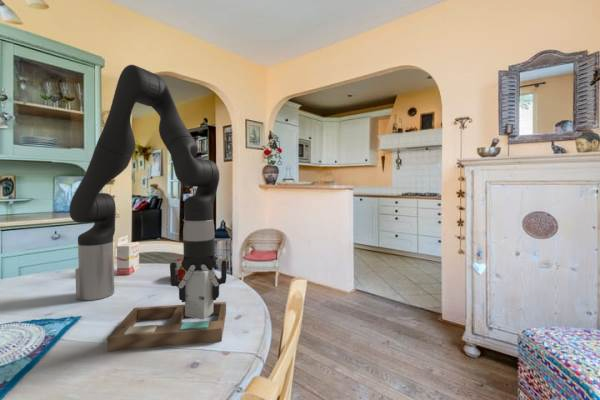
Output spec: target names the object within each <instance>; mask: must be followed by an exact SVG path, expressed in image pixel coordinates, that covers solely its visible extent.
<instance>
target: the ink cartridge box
mask: <svg viewBox="0 0 600 400" xmlns="http://www.w3.org/2000/svg"><path fill="white" fill-rule="evenodd" d="M138 270H140V242H139V241H135V242H134V241H132V242H130V241H129V235H124V236H122V237H118V238H117V241H116V275H117V276H130V275H131V273H132V274H133V273H135V272H137V271H138Z"/></svg>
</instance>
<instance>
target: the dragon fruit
mask: <svg viewBox="0 0 600 400" xmlns="http://www.w3.org/2000/svg"><path fill="white" fill-rule="evenodd" d="M176 261H183V258H178V259H177V260H176ZM185 271H186V270H185V269H184V268H183V267H182V266H180V268H179V270H178V280H181V281H182V279H183V277H184V276H185Z"/></svg>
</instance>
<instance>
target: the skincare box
mask: <svg viewBox="0 0 600 400" xmlns="http://www.w3.org/2000/svg"><path fill="white" fill-rule="evenodd" d="M210 271H211V273H212V274H213V273H214V272H215V267H214V268H213V269H212V270H210ZM186 273H187V272H186V271H185V274H186ZM213 285H214V284H213V283H212V282H211V280H209V271H203V270H195V271H193V272H192V274H191V276H190V277H189V279H188V280H187V282H186V283H185V302H184V305H185V316H187V317H186V318H193V319H197V320H198V319H199V320H205V319H207V318H208V317H210V316H212V315H211V314H212V313H213V303H214V300H213Z"/></svg>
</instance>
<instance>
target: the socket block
mask: <svg viewBox="0 0 600 400" xmlns="http://www.w3.org/2000/svg"><path fill="white" fill-rule="evenodd" d="M226 313H227V301H218V302H213V313H212V314H211V315H210V316H215V315H216V316H217V315H218V318H217V320H211V321H210V320H204V321H203V320H201V321H188V322H183V320H184V318H188V317H187V316H185V304H175V305H170V304H169V305H157V306H142V307H141V306H140V307H134V308H133V309H132V310H130V312H129V313H128V314H127V315H126V316H125V317H124V319H123V320H122V321H121V322H119V324H118V325H117V326H116V328H115V329H114V330H113V331H111V333H110V334H109V335H108V336H107V338H106V344H107V345H106V346H107V347H106V348H107V349H106V350H107V352H111V351H112V352H114V351H124V350H125V351H126V350H138V349H147V348H149V349H150V348H158V347H168V346H169V347H171V346H179V345H182V346H183V345H190V344H192V345H193V344H202V343H213V342H214V343H215V342H222V340H223V334H224V327H225V320H226V315H227V314H226ZM162 319H169V321H168V322H167V324H149V325H135V324H136V323H137V322H138V321H148V320H162Z"/></svg>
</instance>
